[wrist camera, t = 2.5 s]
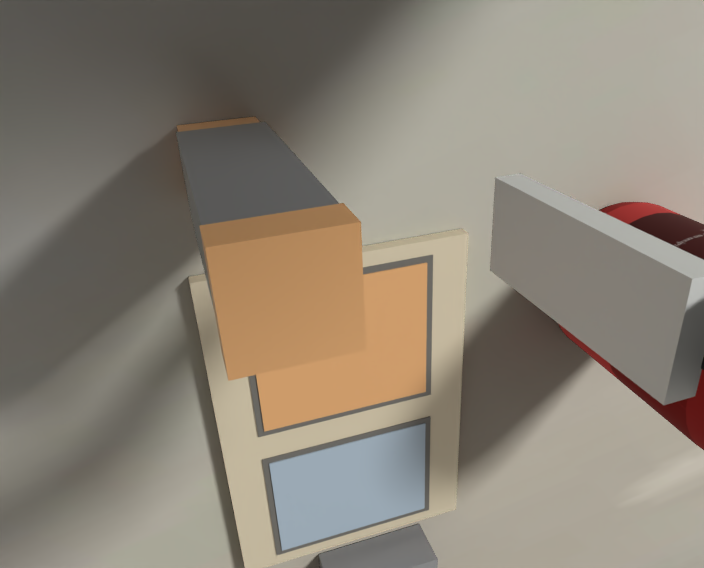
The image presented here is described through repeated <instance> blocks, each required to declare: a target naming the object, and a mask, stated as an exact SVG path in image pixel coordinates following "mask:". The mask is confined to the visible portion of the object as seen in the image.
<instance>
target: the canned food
mask: <svg viewBox="0 0 704 568" xmlns="http://www.w3.org/2000/svg"><path fill="white" fill-rule="evenodd" d="M599 211H601V212H603V213H605V214H607V215H610V216H612V217H614V218H616V219H618V220H620V221H622V222H624V223H627V224H629V225H631V226H633V227H635V228H637V229H639V230H641V231H643V232H646V233H648V234H650V235H652V236H654V237H656V238H658V239H661V240H663V241H665V242H667V243H669V244H671V245H674V246H676V247H678V248H680V249H682V250H684V251H686V252H688V253H691V254H693V255H695V256H696V257H699V258H701V259H703V260H704V225H703V224H701V223H699V222H696V221H694V220H692V219H689V218H687V217H685V216H682V215H680V214H678V213H675V212H673V211H671V210H668V209H666V208H664V207H661V206H659V205H655V204H651V203H643V202H624V203H618V204H614V205H610V206H608V207H606V208H604V209H601V210H599ZM558 325H559V327H560V328H561V329H562V331H563V332H564V333H565V335H566V336H567V337H568V338H569V339H571V340H572V341H573V342H574V343H575V344H577V345H578V346H579V347H580V348H581V349H583V350H584V351H585V352H586V353H587V354H589V355H590V356H591V357H592V358H593V359H595V360H596V361H597V362H598V363H599V364H601V365H602V366H603V367H604V368H605V369H607V370H608V371H609V372H610V373H611V374H613V375H614V376H615V377H616V378H617V379H619V380H620V381H621V382H622V383H623V384H624V385H626V386H627V387H628V388H629V389H630V390H632V391H633V392H634V393H635V394H636V395H638V396H639V397H640V398H641V399H642V400H644V401H645V402H646V403H647V404H648V405H650V406H651V407H652V408H653V409H654V410H656V411H657V412H658V413H659V414H660V415H662V416H663V417H664V418H665V419H666V420H668V421H669V422H670V423H671V424H672V425H674V426H675V427H676V428H677V429H678V430H679V431H681V432H682V433H683V434H684V435H685V436H687V437H688V438H689V439H690V440H691V441H693V442H694V443H695V444H696V445H698V446H699V447H700V448H702V449H703V450H704V370H703V369H702V371H701V375H700V379H699V383H698V387H697V391H696V395H695V396H694V397H691V398H687V399H684V400H681V401H677V402H674V403H670V404H667V405H662V404H661V403H660V402H659V401H657V400H656V399H655V398H653V397H652V396H651V395H650V394H648V393H647V392H646V391H644V390H643V389H642V388H641V387H639V386H638V385H637V384H636V383H634V382H633V381H632V380H630V379H629V378H628V377H627V376H625V375H624V374H623V373H621V372H620V371H619V370H618V369H616V368H615V367H614V366H612V365H611V364H610V363H609V362H607V361H606V360H605V359H603V358H602V357H601V356H600V355H598V354H597V353H596V352H594V351H593V350H592V349H591V348H589V347H588V346H587V345H585V344H584V343H583V342H582V341H580V340H579V339H578V338H576V337H575V336H574V335H573V334H571V333H570V332H569V331H567V330H566V329H565V328H564V327H562V326H561V325H560V324H558Z"/></svg>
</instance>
